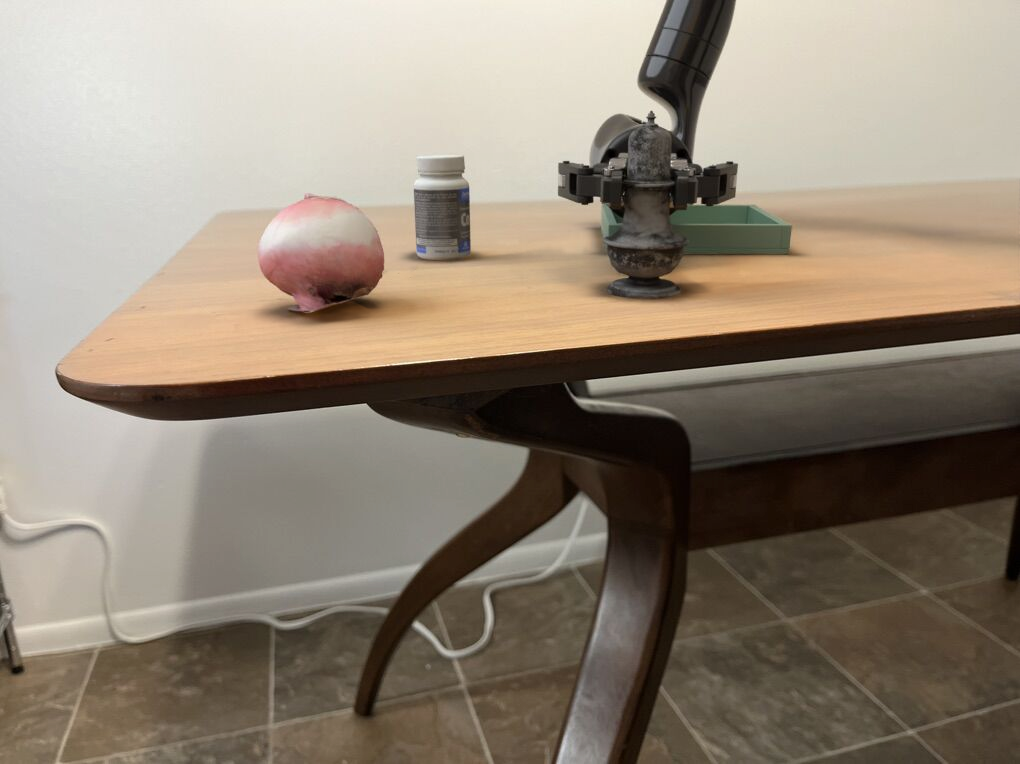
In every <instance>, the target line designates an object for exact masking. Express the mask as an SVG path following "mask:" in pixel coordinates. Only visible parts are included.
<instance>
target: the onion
mask: <svg viewBox="0 0 1020 764" xmlns="http://www.w3.org/2000/svg"><path fill="white" fill-rule="evenodd" d="M257 258H258V265H259V268H260V271H261V273H262V275H263V276H264V278H265V279H266V280H267V281H268V282H269V283H271V284H272V285H273V286H274V287H276V288H277V289H278V290H280V292H282V293H285V294H286V295H288V296H291V297H292V298H293V299H294V301H295V303H296V304H295V305H294V304H293V305H291V306H288V307H286V308H285V309H286V310H288V311H289V310H290V311H294V312H302V313H304V314H311V313H313V312H317V311H320V310H324V309H326V308H329V307H333V306H336V305H339V304H343V303H345V302H348V301H352V300H355V299H358V298H361V297H364V296H368V295H369V294H370V293H371V292H373V291H374V289H376V288H377V286H378V284H379V283H380V281H381V279H382V278H383V277H384V274H383V272H384V270H385V251H384V248H383V244H382V241H381V237H380V234H379V231H378V230H377V228H376V226H375V225H374V223H373V221H372V220H371V219H370V218H369V217H368V216H367V215H366V213H365V212H363V211H362V210H360V208H358V207H357V206H356V205H355V206H354V205H353V204H352V203H349V202H347V201H346V200H344V199H342V198H340V197H338V196H335V195H325V196H321V195H316V194H313V193H311V192H310V193H309V192H307V193H304V197H303V199H301V200H299V201H297V202H295V203H292V204H290V205H287V206H286V207H284V208H283V209H282V210H280V211H279V212H278V213H277V214H276V215H275V216H274V217H273V218H272V220H271V221H270V222H269V223H268V225H267V226H266V228H265V229H264V231H263V234H262V236H261V238H260V240H259V243H258V250H257Z"/></svg>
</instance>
